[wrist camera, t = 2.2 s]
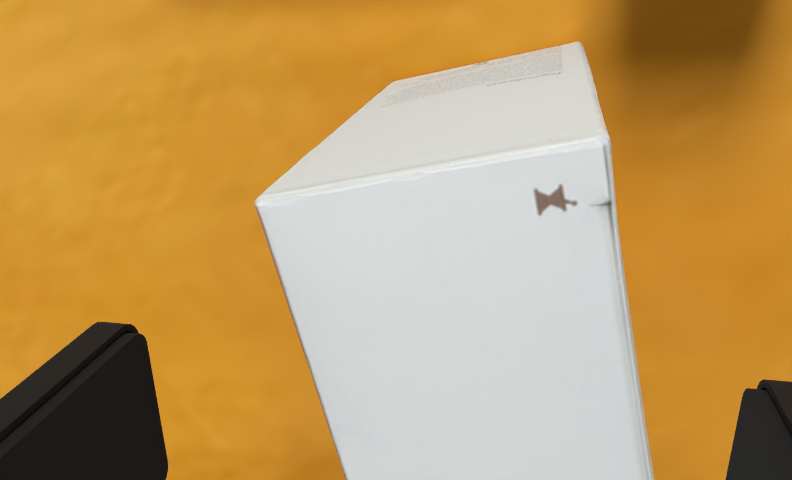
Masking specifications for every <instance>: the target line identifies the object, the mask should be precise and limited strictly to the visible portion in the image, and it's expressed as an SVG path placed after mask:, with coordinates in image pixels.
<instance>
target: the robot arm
mask: <svg viewBox="0 0 792 480" xmlns="http://www.w3.org/2000/svg"><path fill="white" fill-rule="evenodd" d="M167 472H168V460H167V455H166V449H165V443H164V438H163V432H162V426H161V420H160V415H159V409H158V403H157V397H156V392H155V386H154V380H153V375H152V369H151V363H150V357H149V352H148V346H147V341H146V338H145V337H144V336H143V335H142V334H139V333H138V331H137V329H136V328H135V326H133V325H131V324H120V323H109V322H97V323H95V324H93V325H92V326H91V327H90V328H88V329H87V330H86V331H85V332H83V333H82V334H81V335H80V336H78V337H77V338H76V339H75V340H73V341H72V342H71V343H70V344H68V345H67V346H66V347H65V348H63V349H62V350H61V351H60V352H58V353H57V354H56V355H55V356H53V357H52V358H51V359H50V360H48V361H47V362H46V363H45V364H44V365H42V366H41V367H40V368H39V369H37V370H36V371H35V372H34V373H32V374H31V375H30V376H29V377H27V378H26V379H25V380H24V381H22V382H21V383H20V384H19V385H17V386H16V387H15V388H14V389H12V390H11V391H10V392H9V393H7V394H6V395H5V396H4V397H2V398H1V399H0V480H165V479H166V476H167ZM726 480H792V382H786V381H775V380H762V381H760V383H759V385H758V387H757V389H749V388H747V389H746V390H745V391H744V393H743V397H742V401H741V406H740V411H739V416H738V421H737V426H736V431H735V436H734V441H733V446H732V451H731V456H730V461H729V466H728V471H727V476H726Z"/></svg>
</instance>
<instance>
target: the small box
mask: <svg viewBox="0 0 792 480" xmlns="http://www.w3.org/2000/svg"><path fill="white" fill-rule="evenodd" d="M255 207H256V210H257V213H258V216H259V218H260V221H261V224H262V227H263V230H264V233H265V236H266V239H267V243H268V246H269V249H270V252H271V255H272V258H273V261H274V264H275V267H276V270H277V273H278V276H279V279H280V282H281V285H282V288H283V291H284V294H285V297H286V300H287V303H288V306H289V309H290V312H291V315H292V318H293V321H294V324H295V327H296V330H297V333H298V336H299V339H300V342H301V345H302V348H303V351H304V354H305V357H306V360H307V363H308V366H309V369H310V371H311V374H312V378H313V381H314V384H315V387H316V390H317V393H318V396H319V399H320V402H321V405H322V408H323V411H324V415H325V418H326V421H327V424H328V427H329V430H330V432H331V435H332V438H333V442H334V445H335V448H336V451H337V454H338V457H339V460H340V463H341V466H342V469H343V472H344V475H345V478H346V480H654V474H653V468H652V462H651V455H650V448H649V442H648V435H647V429H646V422H645V415H644V408H643V401H642V394H641V387H640V380H639V373H638V366H637V359H636V352H635V345H634V337H633V330H632V323H631V316H630V309H629V302H628V295H627V287H626V280H625V273H624V265H623V258H622V250H621V243H620V235H619V228H618V221H617V210H616V199H615V188H614V177H613V167H612V149H611V142H610V138H609V135H608V132H607V129H606V126H605V123H604V119H603V115H602V111H601V108H600V105H599V101H598V97H597V92H596V87H595V84H594V80H593V76H592V73H591V70H590V66H589V63H588V60H587V57H586V54H585V51H584V48H583V46H582V44H581V43H580V42H573V43H569V44H565V45H561V46H557V47H552V48H547V49H542V50H537V51H533V52H528V53H523V54H519V55H514V56H509V57H505V58H500V59H495V60H491V61H486V62H481V63H477V64H472V65H468V66H463V67H458V68H454V69H449V70H444V71H440V72H435V73H430V74H426V75H421V76H417V77H412V78H408V79H403V80H398V81H394V82H392V83H391V84H389V85H388V86H387V87H386V88H385V89H384V90H382V91H381V92H380V93H379V94H378V95H376V96H375V97H374V98H373V99H372V100H370V101H369V102H368V103H367V104H366V105H365V106H364V107H362V108H361V109H360V110H359V111H357V112H356V113H355V114H354V115H353V116H352V117H350V118H349V119H348V120H347V121H346V122H345V123H343V124H342V125H341V126H340V127H339V128H338V129H337V130H335V131H334V132H333V133H332V134H331V135H330V136H328V137H327V138H326V139H325V140H324V141H322V142H321V143H320V144H319V145H318V146H317V147H315V148H314V149H313V150H311V151H310V152H309V153H308V154H307V155H305V156H304V157H303V158H302V159H301V160H300V161H299V162H298V163H296V164H295V165H294V166H293V167H292V168H291V169H290V170H289V171H287V172H286V173H285V174H284V175H283V176H281V177H280V178H279V179H278V180H277V181H276V182H275V183H273V184H272V185H271V186H270V187H269V188H268V189H267V190H265V191H264V192H263V193H262V194H261V195H260V196H259V197H258V198H257V199H256V201H255Z"/></svg>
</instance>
